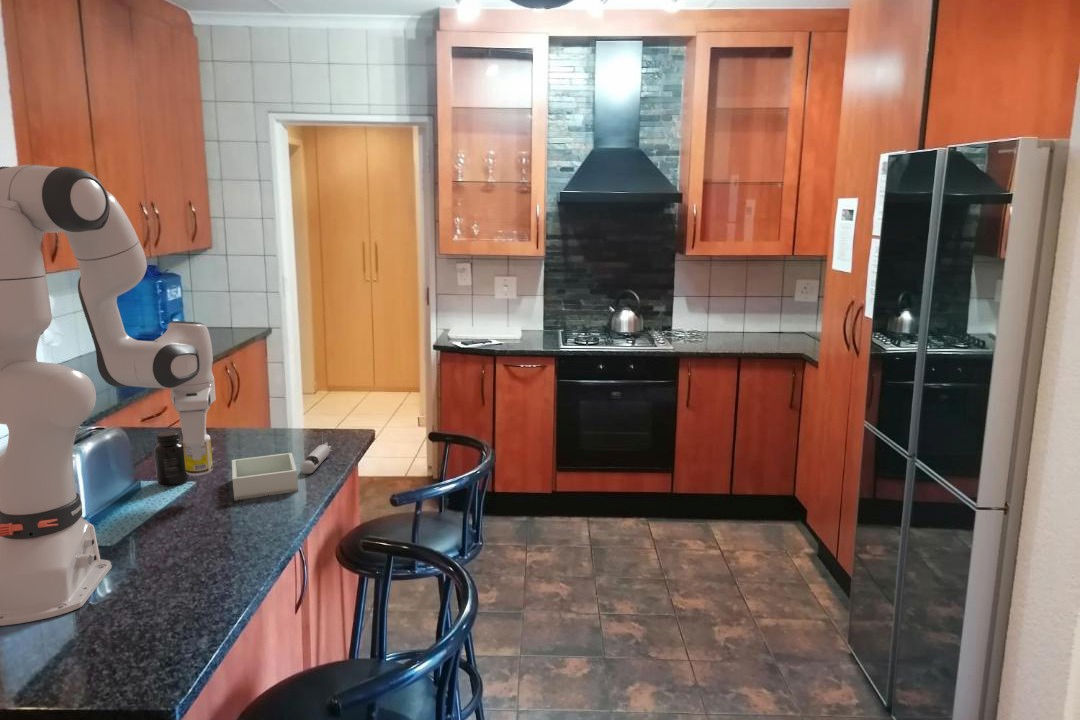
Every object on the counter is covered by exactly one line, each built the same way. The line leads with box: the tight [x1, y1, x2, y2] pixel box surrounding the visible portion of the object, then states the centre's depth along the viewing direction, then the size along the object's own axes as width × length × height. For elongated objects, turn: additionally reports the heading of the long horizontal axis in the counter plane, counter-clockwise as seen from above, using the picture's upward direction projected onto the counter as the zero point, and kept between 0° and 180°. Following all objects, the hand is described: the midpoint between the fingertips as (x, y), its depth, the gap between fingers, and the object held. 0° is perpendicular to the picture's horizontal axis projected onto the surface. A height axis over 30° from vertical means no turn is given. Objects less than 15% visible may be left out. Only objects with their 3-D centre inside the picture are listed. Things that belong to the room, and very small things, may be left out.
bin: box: [231, 452, 299, 501], centre depth 171 cm, size 14×14×5 cm
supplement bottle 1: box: [153, 430, 190, 487], centre depth 173 cm, size 7×7×12 cm
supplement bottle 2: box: [182, 427, 214, 477], centre depth 162 cm, size 6×6×10 cm
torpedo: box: [300, 432, 333, 475], centre depth 186 cm, size 18×5×7 cm, turn 0°
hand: (198, 455), depth 163 cm, fingers closed on supplement bottle 2, 6 cm apart
